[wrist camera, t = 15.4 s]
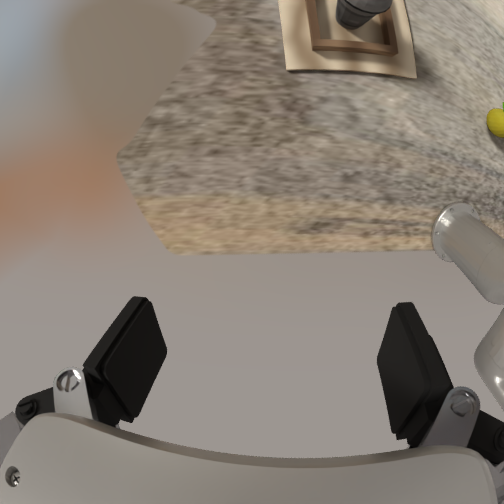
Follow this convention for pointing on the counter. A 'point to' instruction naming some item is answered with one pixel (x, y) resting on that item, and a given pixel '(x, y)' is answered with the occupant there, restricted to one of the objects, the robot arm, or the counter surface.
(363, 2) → the beverage cup
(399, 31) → the cup holder
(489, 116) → the lemon
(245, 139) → the counter surface
